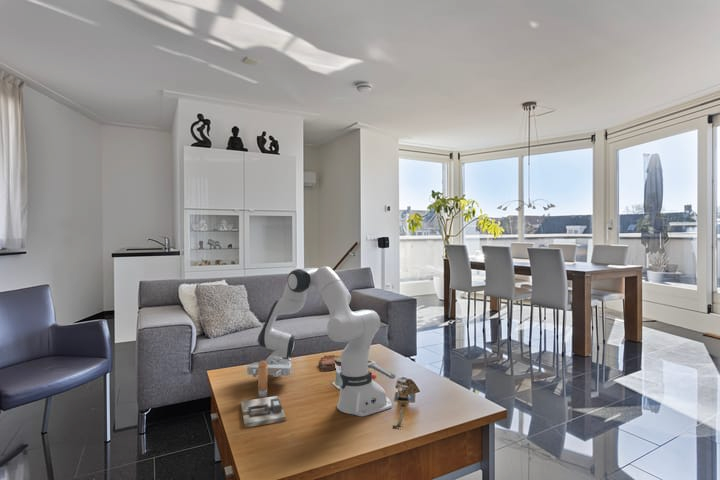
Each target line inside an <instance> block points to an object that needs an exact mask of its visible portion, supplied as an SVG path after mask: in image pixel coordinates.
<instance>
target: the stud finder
mask: <svg viewBox="0 0 720 480" xmlns="http://www.w3.org/2000/svg"><path fill="white" fill-rule="evenodd" d="M280 401H281V400H280V398H279V397H278V398H277V399H271V408H272V411H273V413H276V412H281V406H282V403H281V402H280Z"/></svg>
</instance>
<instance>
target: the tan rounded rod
mask: <svg viewBox="0 0 720 480" xmlns="http://www.w3.org/2000/svg"><path fill="white" fill-rule="evenodd" d="M258 362H259V364H258V375H257V390H258V397H259V398H266V397H267V396H268V375H267V362H266V361H265V360H264V359H263V360H260V361H258Z"/></svg>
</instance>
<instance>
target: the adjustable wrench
mask: <svg viewBox="0 0 720 480" xmlns="http://www.w3.org/2000/svg"><path fill="white" fill-rule="evenodd" d="M368 368H373V369H375V370H377V371H378V372H380V373H382V374H384V375H386V376H387V375H388V377H389V378H391V379H395V378H396V374H395V373H393V372H391V371H389V370H388V369H386V368H384V367H381V366H380V365H378V364H377V363H376V360H372V359H368Z"/></svg>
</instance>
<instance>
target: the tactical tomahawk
mask: <svg viewBox="0 0 720 480" xmlns="http://www.w3.org/2000/svg"><path fill="white" fill-rule="evenodd" d="M406 405H407V403H406V402H405V401H402V402H401V405H400V409H399V416H398V420H397V425H395V424H393V425H392V429H394V428H395V429H397V428H398V429H397V430H400V429H399V428H401V427H400V426H401V424H402V421H403V417H404V413H403V412H405V409H404V410H403V409H402V408H401V407H405V408H406Z"/></svg>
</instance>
